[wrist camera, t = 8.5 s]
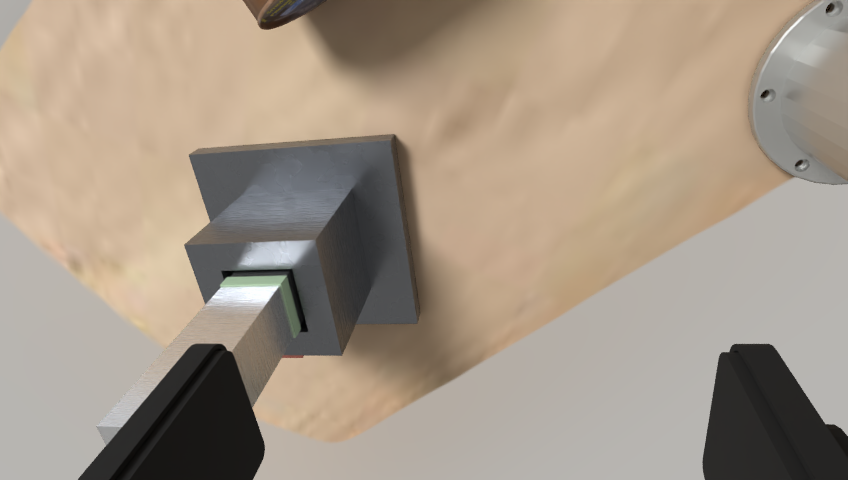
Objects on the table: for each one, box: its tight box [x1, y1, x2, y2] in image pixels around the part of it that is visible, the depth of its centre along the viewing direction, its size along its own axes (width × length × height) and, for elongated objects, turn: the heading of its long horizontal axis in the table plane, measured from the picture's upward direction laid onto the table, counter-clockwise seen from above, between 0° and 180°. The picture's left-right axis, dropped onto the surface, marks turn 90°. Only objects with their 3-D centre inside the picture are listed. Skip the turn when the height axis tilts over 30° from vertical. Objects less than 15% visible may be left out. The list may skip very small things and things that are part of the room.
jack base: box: [184, 134, 420, 358], centre depth 41 cm, size 16×16×10 cm
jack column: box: [96, 269, 305, 445], centre depth 32 cm, size 4×4×16 cm
